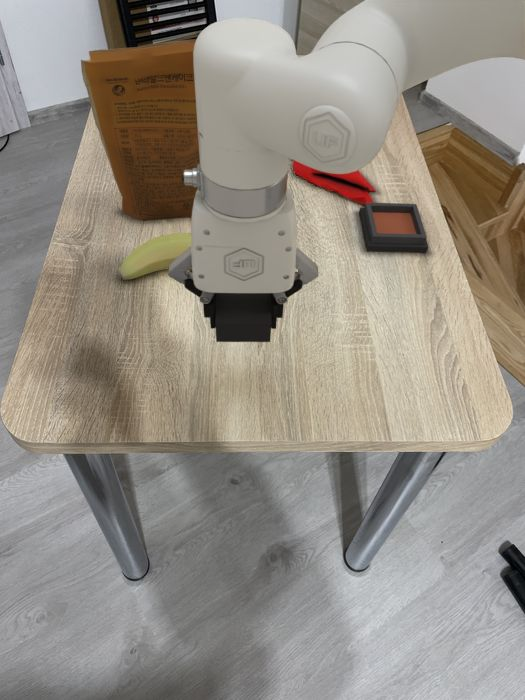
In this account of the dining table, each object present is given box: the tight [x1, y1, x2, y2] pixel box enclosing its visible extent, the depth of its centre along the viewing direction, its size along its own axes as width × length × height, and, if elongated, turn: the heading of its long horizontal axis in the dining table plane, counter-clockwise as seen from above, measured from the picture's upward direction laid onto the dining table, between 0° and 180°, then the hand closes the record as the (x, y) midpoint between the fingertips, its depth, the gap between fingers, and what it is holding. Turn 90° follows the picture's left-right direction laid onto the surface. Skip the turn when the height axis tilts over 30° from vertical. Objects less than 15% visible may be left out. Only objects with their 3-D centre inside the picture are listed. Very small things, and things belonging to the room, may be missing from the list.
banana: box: [118, 232, 192, 281], centre depth 80 cm, size 14×6×20 cm
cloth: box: [292, 160, 376, 206], centre depth 101 cm, size 26×14×2 cm, turn 10°
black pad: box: [215, 293, 272, 343], centre depth 60 cm, size 6×6×3 cm
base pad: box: [358, 202, 429, 254], centre depth 90 cm, size 10×10×3 cm
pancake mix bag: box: [80, 38, 200, 222], centre depth 81 cm, size 7×19×28 cm, turn 100°
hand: (243, 318), depth 61 cm, fingers closed on black pad, 6 cm apart
